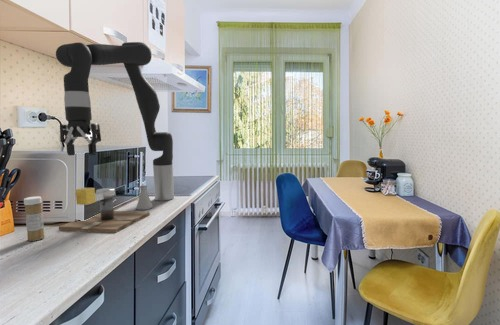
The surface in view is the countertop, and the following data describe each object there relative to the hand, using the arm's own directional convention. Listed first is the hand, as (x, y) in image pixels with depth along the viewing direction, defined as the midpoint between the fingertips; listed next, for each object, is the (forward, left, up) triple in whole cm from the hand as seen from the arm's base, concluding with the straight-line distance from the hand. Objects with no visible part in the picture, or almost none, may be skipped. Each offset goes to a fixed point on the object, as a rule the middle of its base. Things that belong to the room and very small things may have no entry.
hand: (81, 155), depth 102 cm
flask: (-31, +4, -26) cm, 41 cm away
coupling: (-5, +1, -16) cm, 17 cm away
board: (-10, +1, -26) cm, 28 cm away
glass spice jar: (-10, +1, -25) cm, 27 cm away
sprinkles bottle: (+10, -10, -26) cm, 30 cm away
